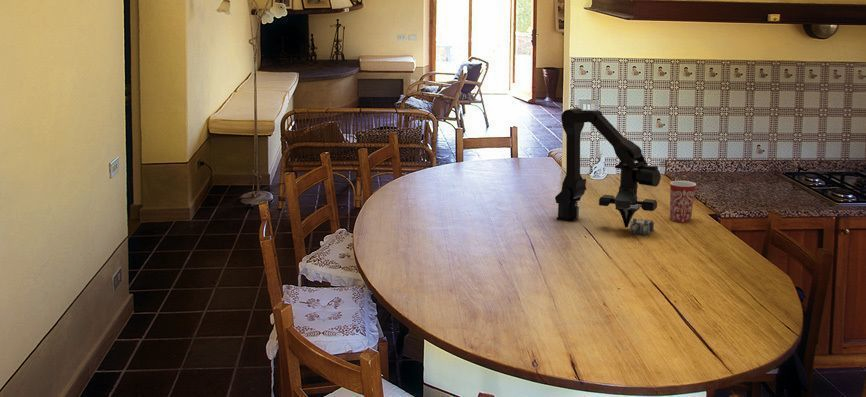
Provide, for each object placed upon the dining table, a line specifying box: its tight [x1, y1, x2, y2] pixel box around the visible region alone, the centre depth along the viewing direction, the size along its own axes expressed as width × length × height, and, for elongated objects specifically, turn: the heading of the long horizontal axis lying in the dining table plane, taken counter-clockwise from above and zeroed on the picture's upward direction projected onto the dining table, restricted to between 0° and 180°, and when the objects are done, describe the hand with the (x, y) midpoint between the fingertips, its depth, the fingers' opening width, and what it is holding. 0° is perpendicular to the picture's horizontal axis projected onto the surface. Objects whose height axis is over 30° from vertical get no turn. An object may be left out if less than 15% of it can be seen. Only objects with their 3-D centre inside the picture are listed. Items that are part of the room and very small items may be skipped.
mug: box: [669, 180, 697, 223], centre depth 314 cm, size 13×9×14 cm
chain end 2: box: [640, 219, 655, 237], centre depth 297 cm, size 2×9×3 cm, turn 153°
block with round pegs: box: [629, 217, 651, 234], centre depth 299 cm, size 6×4×4 cm, turn 65°
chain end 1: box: [629, 218, 644, 236], centre depth 299 cm, size 2×9×3 cm, turn 153°
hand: (626, 227), depth 301 cm, fingers closed
